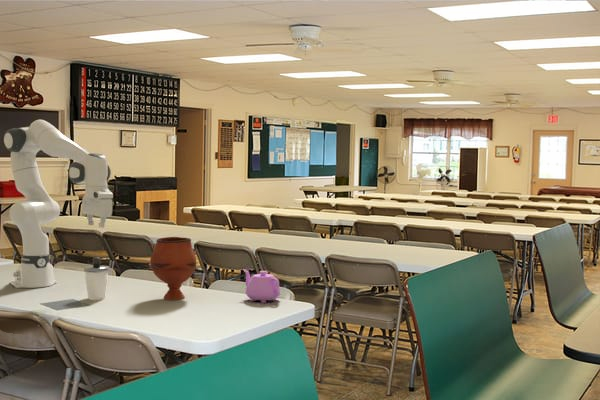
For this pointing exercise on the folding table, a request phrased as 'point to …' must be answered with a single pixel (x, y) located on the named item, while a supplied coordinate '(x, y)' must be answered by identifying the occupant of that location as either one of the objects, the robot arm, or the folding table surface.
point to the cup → (96, 284)
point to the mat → (65, 304)
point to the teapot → (262, 287)
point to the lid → (96, 266)
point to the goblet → (173, 263)
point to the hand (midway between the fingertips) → (96, 226)
